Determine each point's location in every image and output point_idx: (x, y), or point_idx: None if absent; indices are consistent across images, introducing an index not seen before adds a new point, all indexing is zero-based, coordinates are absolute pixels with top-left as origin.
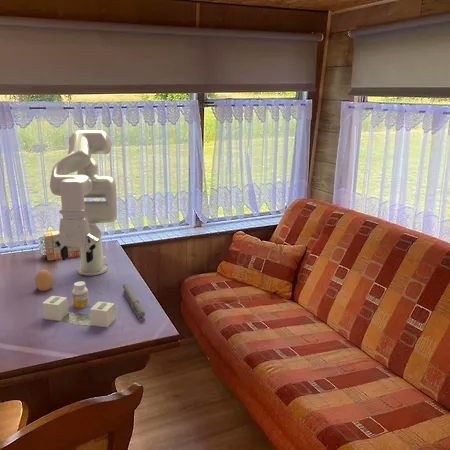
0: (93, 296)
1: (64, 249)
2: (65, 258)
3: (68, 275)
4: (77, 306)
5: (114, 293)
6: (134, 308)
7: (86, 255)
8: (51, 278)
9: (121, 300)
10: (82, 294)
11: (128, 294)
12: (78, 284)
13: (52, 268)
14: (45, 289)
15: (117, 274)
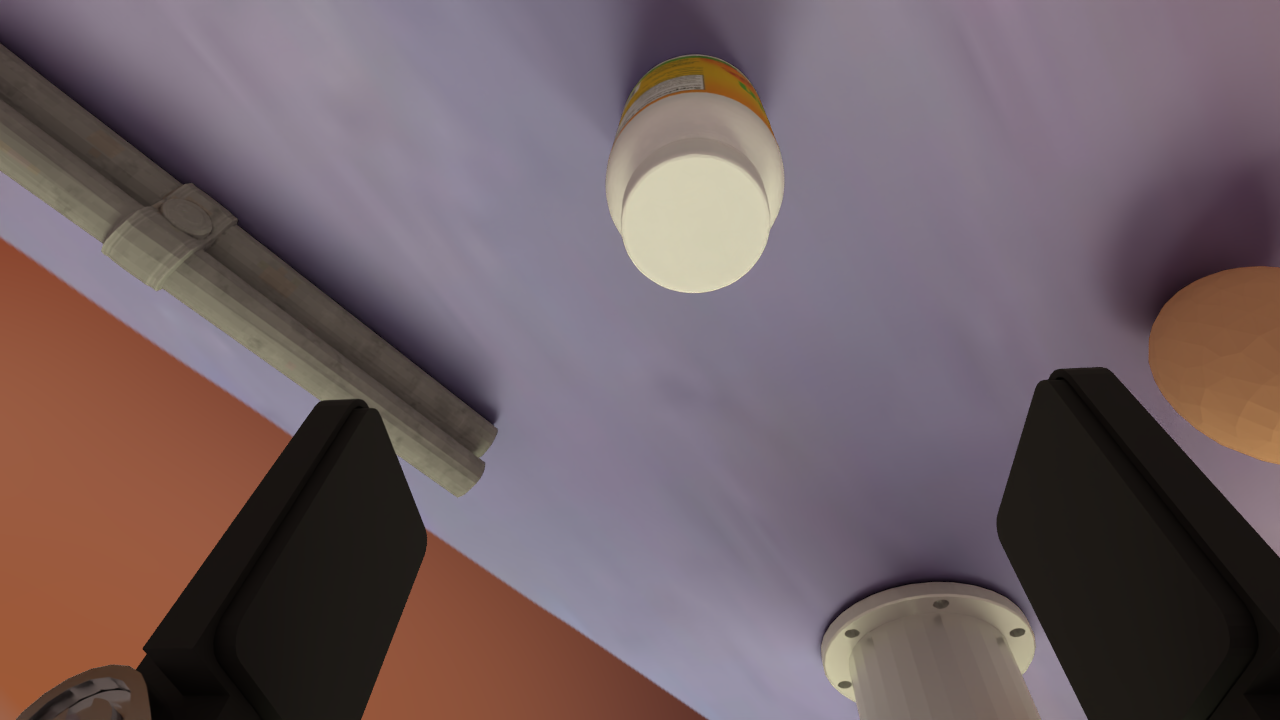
0: (704, 338)
1: (1200, 691)
2: (1030, 443)
3: None
4: (687, 62)
5: (575, 421)
6: (160, 199)
7: (258, 545)
8: (1194, 397)
9: (450, 342)
10: (623, 128)
11: (314, 355)
12: (692, 198)
13: None
14: (1195, 284)
15: (723, 633)
